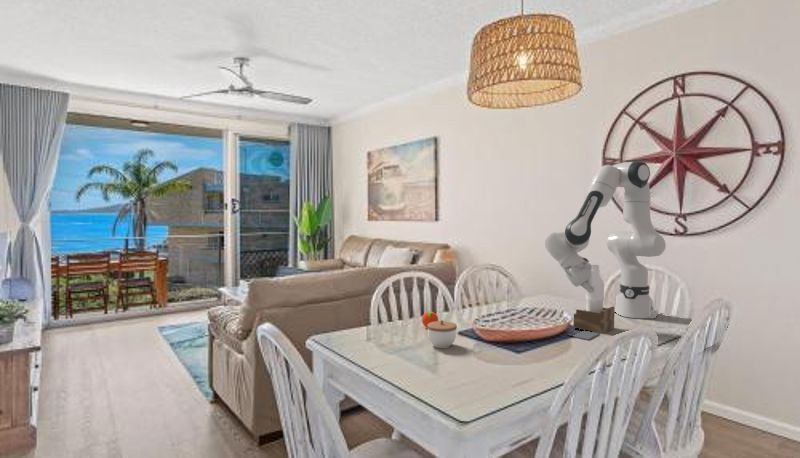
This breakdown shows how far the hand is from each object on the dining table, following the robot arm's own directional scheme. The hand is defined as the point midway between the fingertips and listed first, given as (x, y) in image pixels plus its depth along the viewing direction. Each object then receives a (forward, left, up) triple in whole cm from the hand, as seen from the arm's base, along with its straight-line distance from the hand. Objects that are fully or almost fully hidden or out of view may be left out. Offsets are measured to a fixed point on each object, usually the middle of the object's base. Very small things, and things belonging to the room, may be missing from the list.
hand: (596, 290), depth 188 cm
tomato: (+48, -50, -16) cm, 71 cm away
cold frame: (0, -1, -16) cm, 16 cm away
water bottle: (0, -1, -15) cm, 15 cm away
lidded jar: (+63, -31, -16) cm, 72 cm away
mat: (+14, -1, -16) cm, 21 cm away
